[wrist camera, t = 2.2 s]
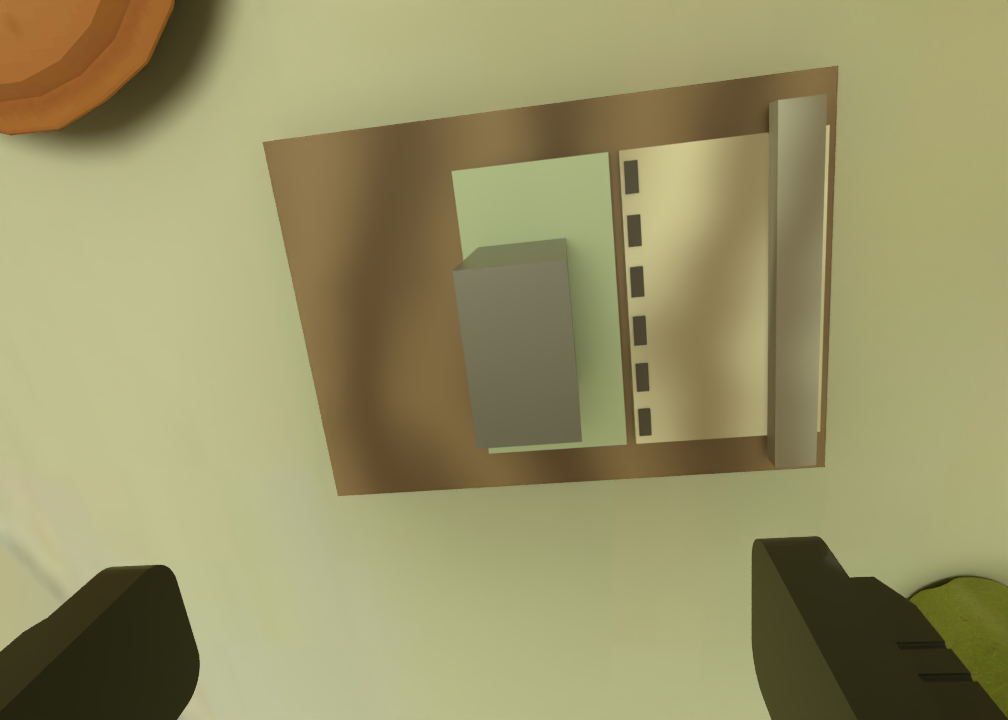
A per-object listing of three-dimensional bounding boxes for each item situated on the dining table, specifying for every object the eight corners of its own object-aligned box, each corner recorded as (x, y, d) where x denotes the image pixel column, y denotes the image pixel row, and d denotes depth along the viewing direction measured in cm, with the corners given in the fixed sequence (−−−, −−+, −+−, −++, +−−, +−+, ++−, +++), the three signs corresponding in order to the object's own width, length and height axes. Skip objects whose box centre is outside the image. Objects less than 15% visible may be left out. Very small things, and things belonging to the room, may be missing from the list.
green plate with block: (607, 152, 24) (622, 147, 18) (626, 440, 27) (644, 519, 21) (453, 171, 24) (416, 172, 18) (490, 449, 28) (469, 528, 22)
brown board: (821, 71, 24) (859, 57, 21) (811, 451, 28) (841, 486, 25) (278, 143, 27) (242, 140, 24) (348, 481, 31) (325, 515, 28)
